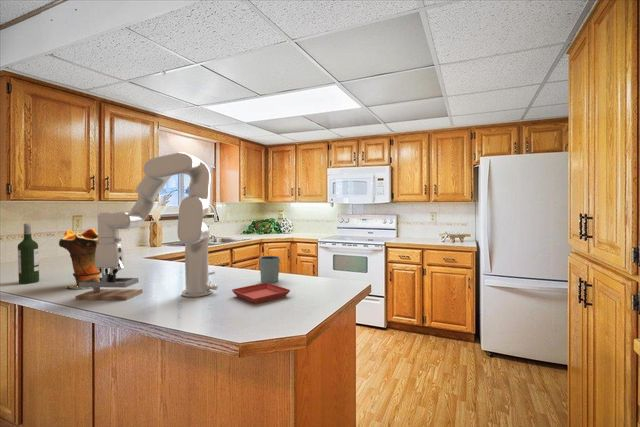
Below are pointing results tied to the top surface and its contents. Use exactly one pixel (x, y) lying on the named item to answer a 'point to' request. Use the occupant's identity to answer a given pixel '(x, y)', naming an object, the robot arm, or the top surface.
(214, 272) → the adjustable wrench
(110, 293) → the keeper
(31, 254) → the wine bottle
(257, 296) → the plant saucer
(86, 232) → the decorative vase
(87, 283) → the grey rectangular tray
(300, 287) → the top surface
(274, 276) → the grey green bin
